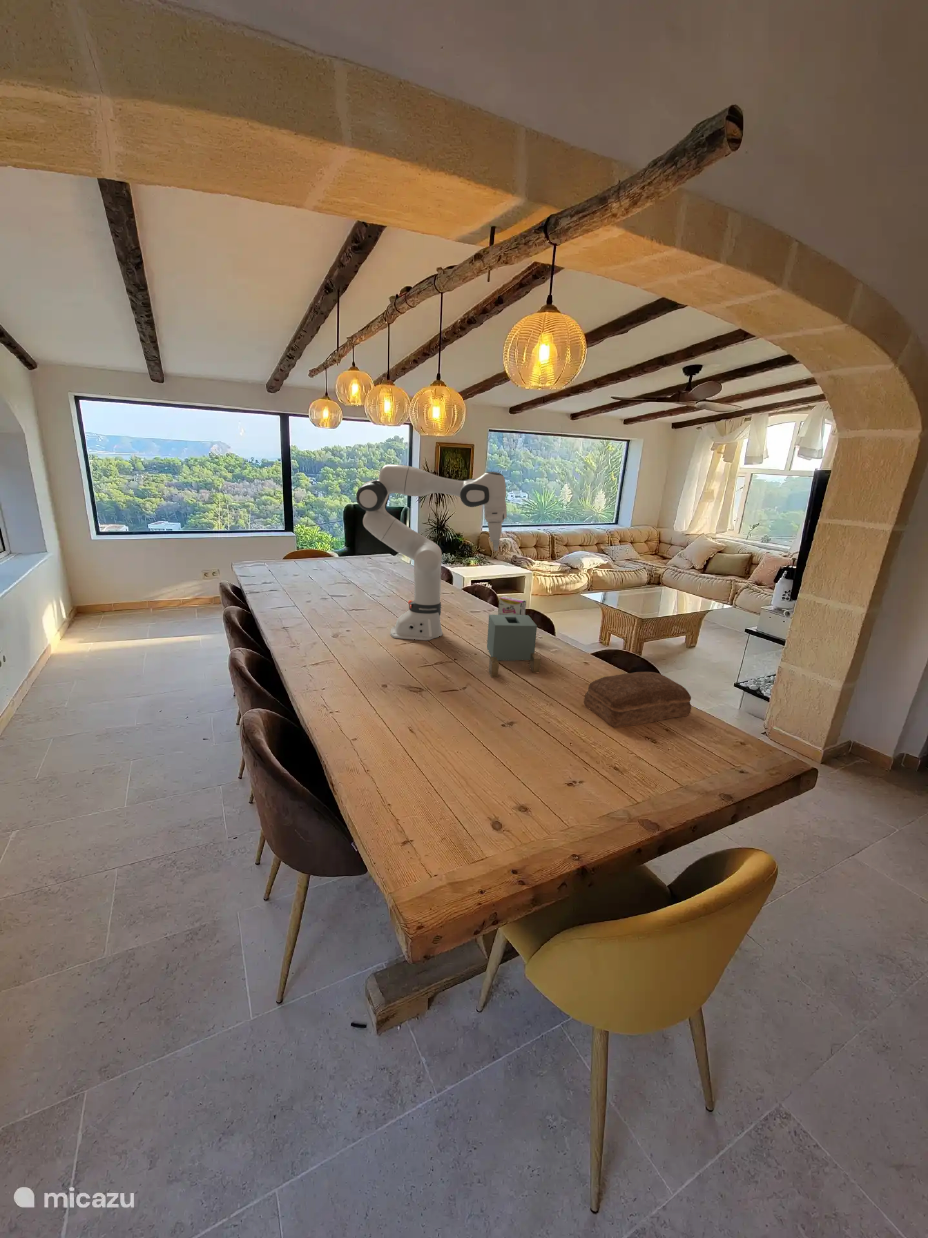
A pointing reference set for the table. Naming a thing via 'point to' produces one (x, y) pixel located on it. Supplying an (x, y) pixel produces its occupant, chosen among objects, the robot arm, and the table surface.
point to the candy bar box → (511, 606)
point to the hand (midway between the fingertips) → (496, 547)
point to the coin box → (511, 637)
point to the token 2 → (535, 662)
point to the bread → (637, 698)
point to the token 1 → (493, 666)
